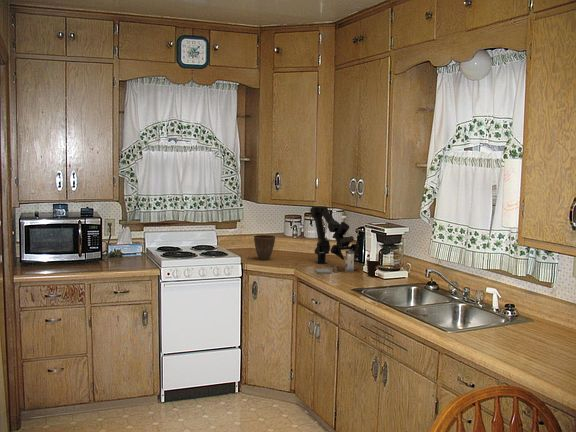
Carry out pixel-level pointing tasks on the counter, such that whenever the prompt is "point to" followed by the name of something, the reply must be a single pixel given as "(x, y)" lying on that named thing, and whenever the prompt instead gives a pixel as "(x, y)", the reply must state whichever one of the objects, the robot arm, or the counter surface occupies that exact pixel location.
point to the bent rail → (336, 268)
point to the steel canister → (349, 261)
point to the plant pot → (264, 246)
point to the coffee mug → (372, 267)
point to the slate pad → (323, 271)
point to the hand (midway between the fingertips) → (349, 259)
